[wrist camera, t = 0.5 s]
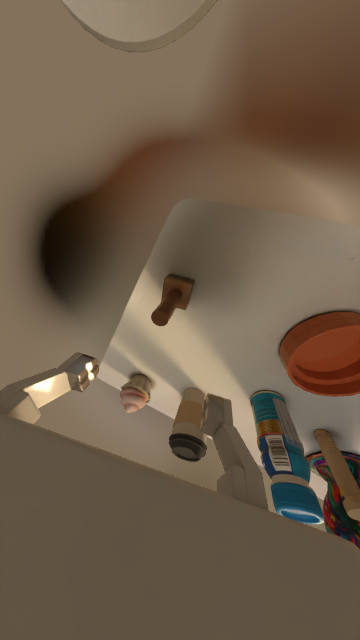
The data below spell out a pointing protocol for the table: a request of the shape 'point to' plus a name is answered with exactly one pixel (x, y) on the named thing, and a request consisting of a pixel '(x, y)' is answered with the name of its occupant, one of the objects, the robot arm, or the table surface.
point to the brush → (172, 298)
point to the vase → (337, 498)
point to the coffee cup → (189, 427)
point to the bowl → (324, 354)
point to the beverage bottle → (284, 459)
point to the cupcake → (135, 393)
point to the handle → (340, 473)
